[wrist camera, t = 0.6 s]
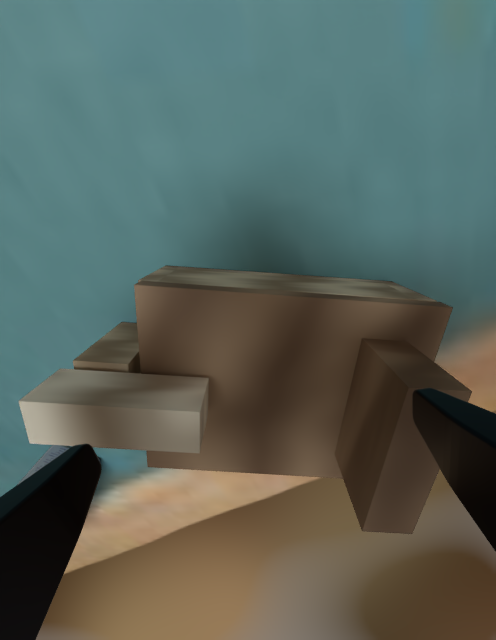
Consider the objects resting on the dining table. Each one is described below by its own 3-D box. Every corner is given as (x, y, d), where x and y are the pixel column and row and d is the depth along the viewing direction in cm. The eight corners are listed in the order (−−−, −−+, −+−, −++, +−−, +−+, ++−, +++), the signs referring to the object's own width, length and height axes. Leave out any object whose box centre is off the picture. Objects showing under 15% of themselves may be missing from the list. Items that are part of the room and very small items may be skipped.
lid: (428, 297, 16) (543, 346, 9) (378, 456, 20) (436, 562, 14) (148, 277, 15) (81, 314, 9) (157, 443, 19) (115, 545, 13)
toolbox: (391, 281, 19) (449, 306, 14) (356, 418, 23) (390, 480, 18) (115, 262, 19) (59, 279, 13) (129, 404, 23) (90, 463, 17)
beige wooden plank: (208, 378, 15) (199, 412, 12) (207, 414, 16) (199, 453, 13) (60, 368, 15) (18, 401, 12) (67, 405, 15) (29, 443, 13)
